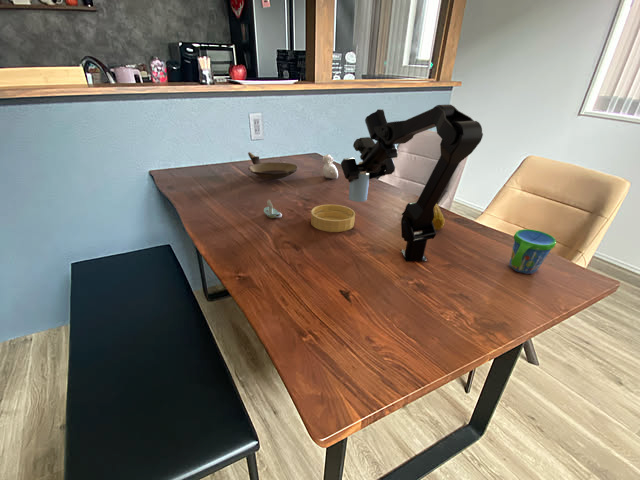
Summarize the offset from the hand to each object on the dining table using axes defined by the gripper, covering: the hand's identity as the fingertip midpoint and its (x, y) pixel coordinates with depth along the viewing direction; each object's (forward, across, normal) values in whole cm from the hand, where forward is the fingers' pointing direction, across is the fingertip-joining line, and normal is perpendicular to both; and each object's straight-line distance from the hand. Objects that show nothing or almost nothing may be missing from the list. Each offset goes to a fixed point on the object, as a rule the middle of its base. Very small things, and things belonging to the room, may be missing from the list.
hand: (357, 179), depth 128 cm
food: (-1, -24, +20) cm, 32 cm away
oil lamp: (+50, +10, -32) cm, 60 cm away
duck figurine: (+36, -14, -29) cm, 48 cm away
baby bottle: (+3, 0, +5) cm, 6 cm away
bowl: (+7, +11, +12) cm, 18 cm away
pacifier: (+17, +28, +2) cm, 33 cm away
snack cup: (-28, -25, +48) cm, 61 cm away
